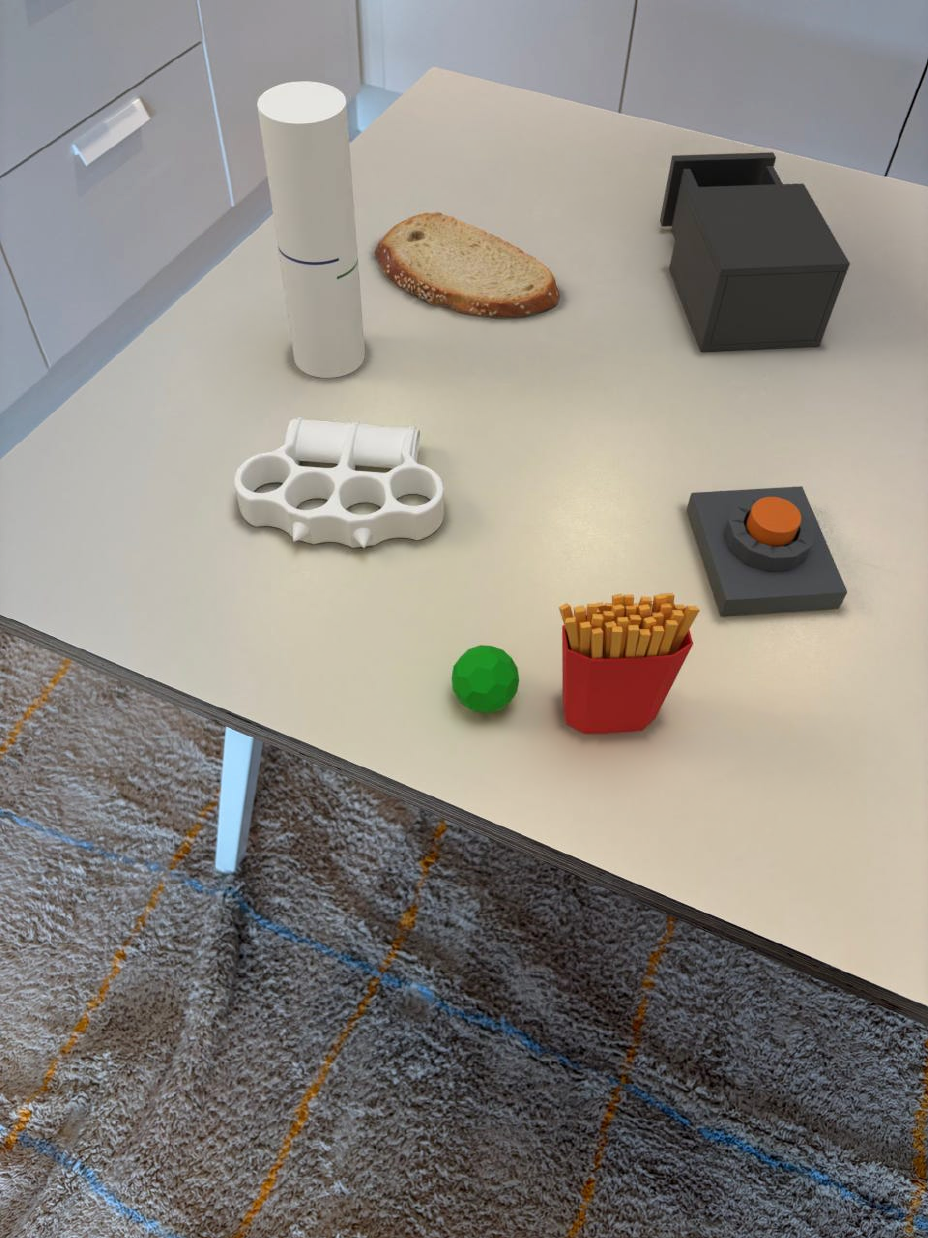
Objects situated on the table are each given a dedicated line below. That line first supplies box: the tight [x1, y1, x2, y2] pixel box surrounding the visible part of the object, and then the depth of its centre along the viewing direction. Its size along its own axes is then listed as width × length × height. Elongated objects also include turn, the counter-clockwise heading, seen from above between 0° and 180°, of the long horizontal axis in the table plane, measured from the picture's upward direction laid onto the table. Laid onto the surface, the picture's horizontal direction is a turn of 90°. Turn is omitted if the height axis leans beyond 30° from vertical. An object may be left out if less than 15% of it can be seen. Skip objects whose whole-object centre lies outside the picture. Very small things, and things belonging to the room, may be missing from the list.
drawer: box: [659, 151, 784, 240], centre depth 109 cm, size 18×11×8 cm, turn 6°
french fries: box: [558, 592, 701, 735], centre depth 70 cm, size 9×4×13 cm, turn 94°
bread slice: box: [374, 211, 561, 319], centre depth 108 cm, size 18×18×4 cm
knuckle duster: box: [233, 416, 445, 549], centre depth 87 cm, size 3×18×15 cm
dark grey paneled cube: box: [668, 183, 851, 353], centre depth 103 cm, size 15×13×10 cm
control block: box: [686, 485, 848, 617], centre depth 83 cm, size 12×10×4 cm
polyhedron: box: [451, 644, 520, 714], centre depth 74 cm, size 5×5×5 cm
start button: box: [747, 497, 801, 546], centre depth 81 cm, size 4×4×2 cm
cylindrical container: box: [256, 80, 366, 379], centre depth 90 cm, size 7×7×25 cm
